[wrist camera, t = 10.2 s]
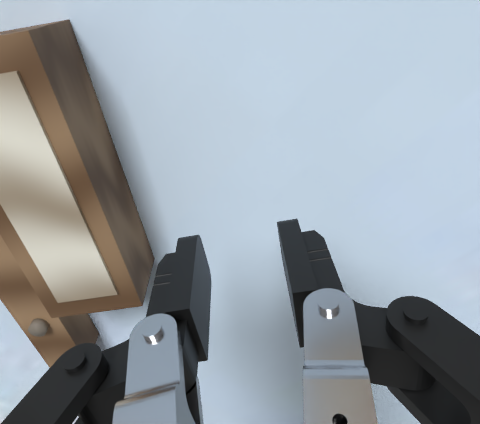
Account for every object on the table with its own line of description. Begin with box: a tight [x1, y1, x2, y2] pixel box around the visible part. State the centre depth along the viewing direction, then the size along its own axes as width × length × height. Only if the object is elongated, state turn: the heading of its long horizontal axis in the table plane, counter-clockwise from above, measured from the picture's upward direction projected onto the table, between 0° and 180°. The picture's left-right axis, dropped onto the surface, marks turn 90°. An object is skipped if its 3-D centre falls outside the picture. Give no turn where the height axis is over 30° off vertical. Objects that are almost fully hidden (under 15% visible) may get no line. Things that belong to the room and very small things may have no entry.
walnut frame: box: [0, 20, 154, 318], centre depth 22 cm, size 16×6×5 cm, turn 9°
